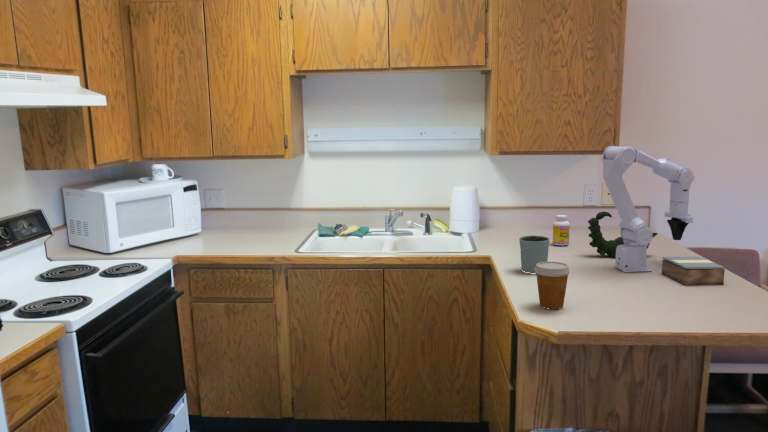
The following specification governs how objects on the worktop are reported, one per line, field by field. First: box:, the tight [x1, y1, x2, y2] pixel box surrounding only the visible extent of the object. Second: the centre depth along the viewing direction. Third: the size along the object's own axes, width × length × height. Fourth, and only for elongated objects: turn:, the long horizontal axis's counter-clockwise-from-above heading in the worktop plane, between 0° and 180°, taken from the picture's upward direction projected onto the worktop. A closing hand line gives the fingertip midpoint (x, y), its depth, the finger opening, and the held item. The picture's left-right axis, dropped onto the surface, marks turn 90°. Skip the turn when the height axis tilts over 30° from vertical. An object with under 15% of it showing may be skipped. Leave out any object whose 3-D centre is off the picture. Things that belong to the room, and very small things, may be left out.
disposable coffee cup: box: [535, 261, 571, 310], centre depth 151 cm, size 10×10×12 cm
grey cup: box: [519, 235, 550, 273], centre depth 188 cm, size 10×10×12 cm
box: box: [661, 259, 725, 287], centre depth 174 cm, size 12×14×5 cm
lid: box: [662, 256, 725, 269], centre depth 173 cm, size 12×14×1 cm
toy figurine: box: [587, 211, 658, 259], centre depth 205 cm, size 9×19×25 cm
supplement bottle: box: [552, 214, 571, 246], centre depth 228 cm, size 7×7×13 cm
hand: (676, 239), depth 189 cm, fingers closed
